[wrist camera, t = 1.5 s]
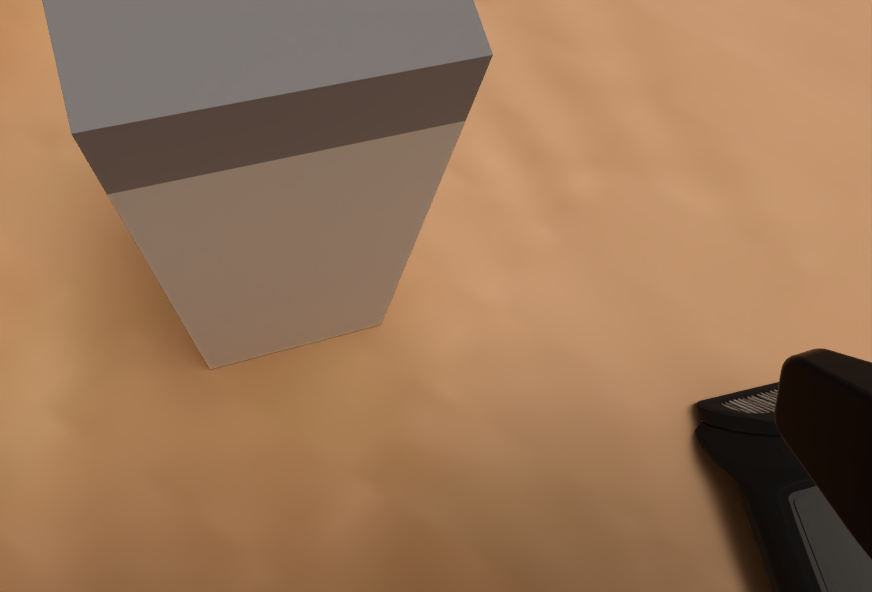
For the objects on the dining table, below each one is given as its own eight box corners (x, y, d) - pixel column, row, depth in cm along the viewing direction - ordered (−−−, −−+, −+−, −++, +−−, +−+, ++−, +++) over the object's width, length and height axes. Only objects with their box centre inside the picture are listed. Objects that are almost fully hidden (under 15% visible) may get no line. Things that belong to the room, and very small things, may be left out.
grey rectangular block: (381, 324, 21) (492, 54, 9) (209, 369, 20) (70, 133, 8) (336, 172, 21) (380, -260, 10) (170, 207, 20) (-8, -226, 9)
